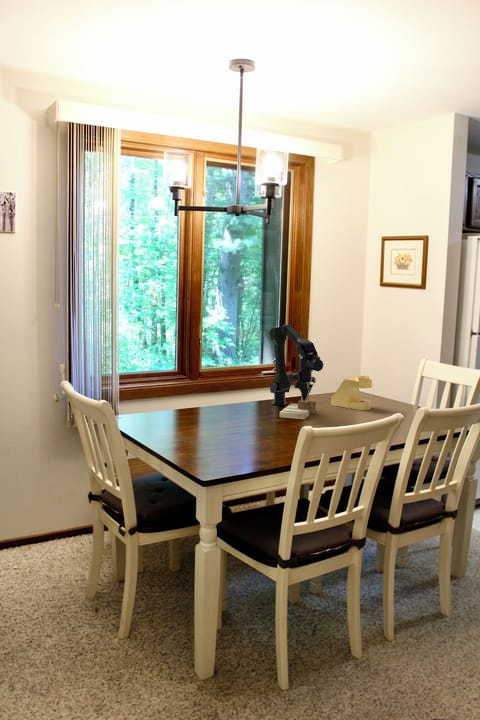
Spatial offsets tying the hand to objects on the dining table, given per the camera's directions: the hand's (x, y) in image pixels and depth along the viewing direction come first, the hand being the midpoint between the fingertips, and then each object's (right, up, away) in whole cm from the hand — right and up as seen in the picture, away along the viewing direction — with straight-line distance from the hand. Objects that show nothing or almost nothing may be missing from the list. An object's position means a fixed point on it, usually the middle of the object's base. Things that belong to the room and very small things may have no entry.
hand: (304, 399), depth 322 cm
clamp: (+26, -5, +16) cm, 31 cm away
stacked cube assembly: (+1, -6, +1) cm, 6 cm away
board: (-4, -7, 0) cm, 8 cm away
